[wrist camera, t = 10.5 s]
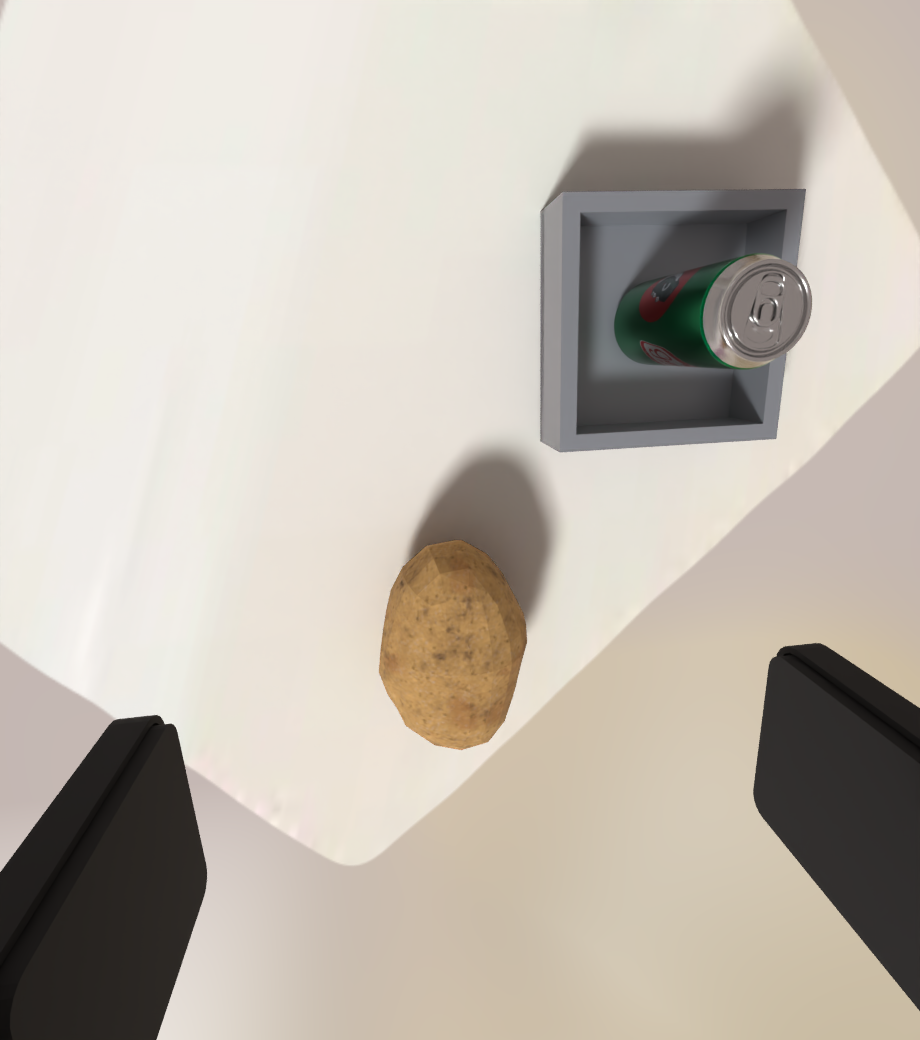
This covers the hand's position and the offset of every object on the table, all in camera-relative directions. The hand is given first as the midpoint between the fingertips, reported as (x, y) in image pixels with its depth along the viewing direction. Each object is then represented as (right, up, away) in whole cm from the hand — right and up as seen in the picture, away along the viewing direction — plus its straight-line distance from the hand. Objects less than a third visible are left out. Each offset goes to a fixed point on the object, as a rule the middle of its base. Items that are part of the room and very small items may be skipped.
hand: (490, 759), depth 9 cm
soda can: (+12, +16, +28) cm, 34 cm away
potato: (-1, -3, +33) cm, 33 cm away
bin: (+12, +16, +29) cm, 35 cm away
